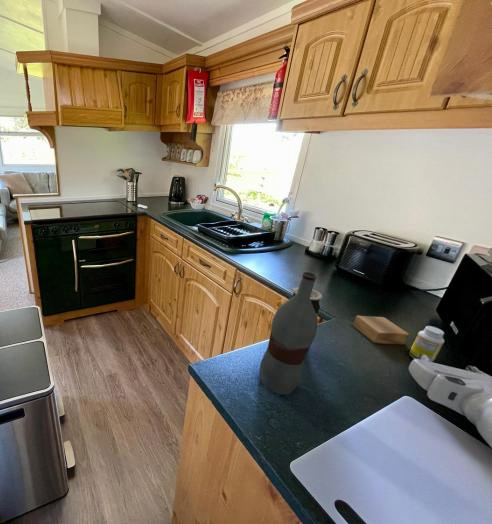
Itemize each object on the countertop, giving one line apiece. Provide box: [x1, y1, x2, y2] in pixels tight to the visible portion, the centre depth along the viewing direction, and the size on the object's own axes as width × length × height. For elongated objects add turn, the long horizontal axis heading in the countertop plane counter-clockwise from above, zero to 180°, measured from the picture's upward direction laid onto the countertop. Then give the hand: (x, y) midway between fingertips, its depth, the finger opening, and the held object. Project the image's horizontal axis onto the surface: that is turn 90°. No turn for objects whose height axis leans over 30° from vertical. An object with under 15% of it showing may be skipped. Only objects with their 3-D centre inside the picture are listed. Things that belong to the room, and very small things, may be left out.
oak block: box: [352, 315, 410, 345], centre depth 96 cm, size 10×10×4 cm
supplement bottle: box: [408, 325, 445, 363], centre depth 85 cm, size 6×6×10 cm
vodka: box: [258, 271, 318, 396], centre depth 67 cm, size 9×9×30 cm
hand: (446, 362), depth 76 cm, fingers open, 8 cm apart
